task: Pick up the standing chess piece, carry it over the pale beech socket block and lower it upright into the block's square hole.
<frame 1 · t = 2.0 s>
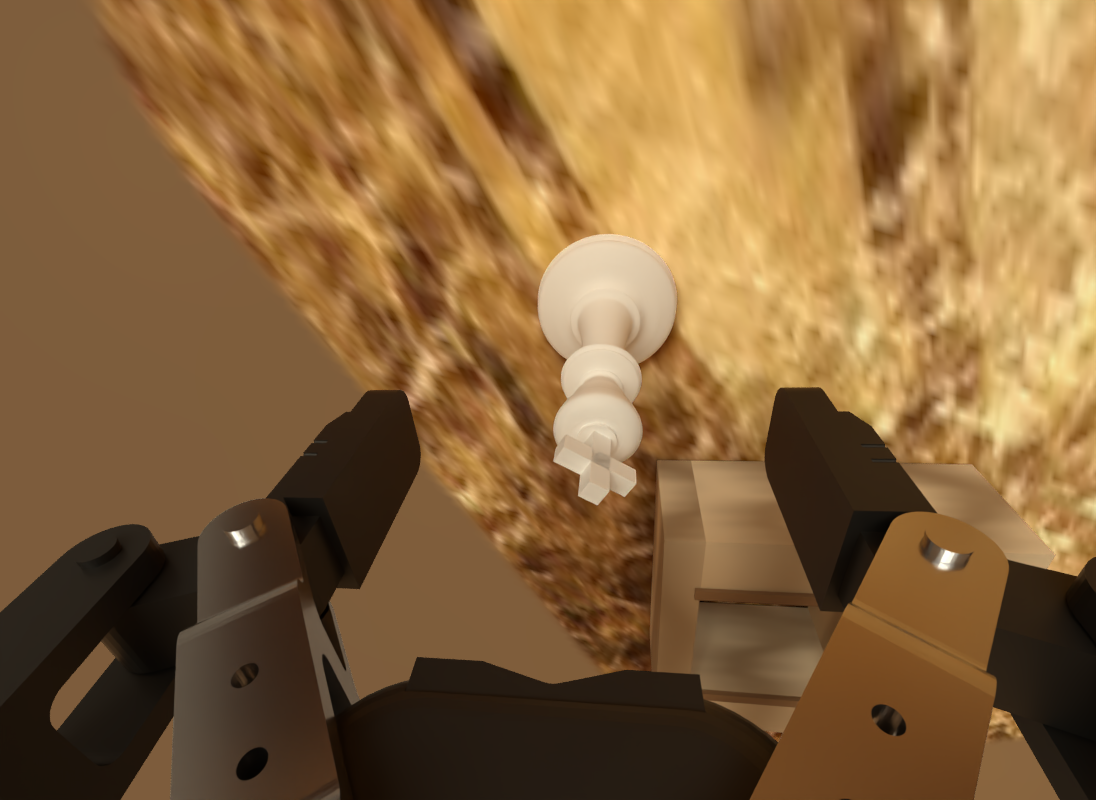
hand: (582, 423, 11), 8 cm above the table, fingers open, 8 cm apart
socket block: (783, 563, 24), on the table
chess piece: (606, 301, 18), on the table
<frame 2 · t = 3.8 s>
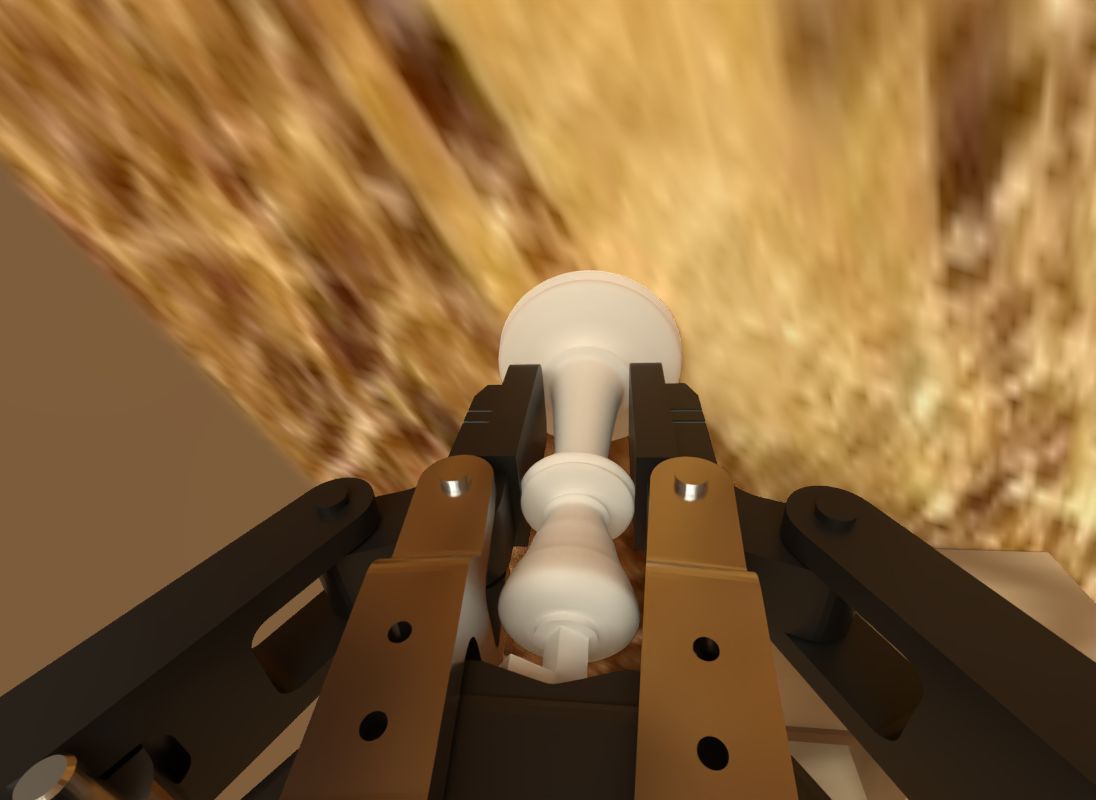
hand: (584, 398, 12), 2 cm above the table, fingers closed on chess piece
socket block: (805, 654, 20), on the table
chess piece: (589, 354, 14), on the table, touching gripper
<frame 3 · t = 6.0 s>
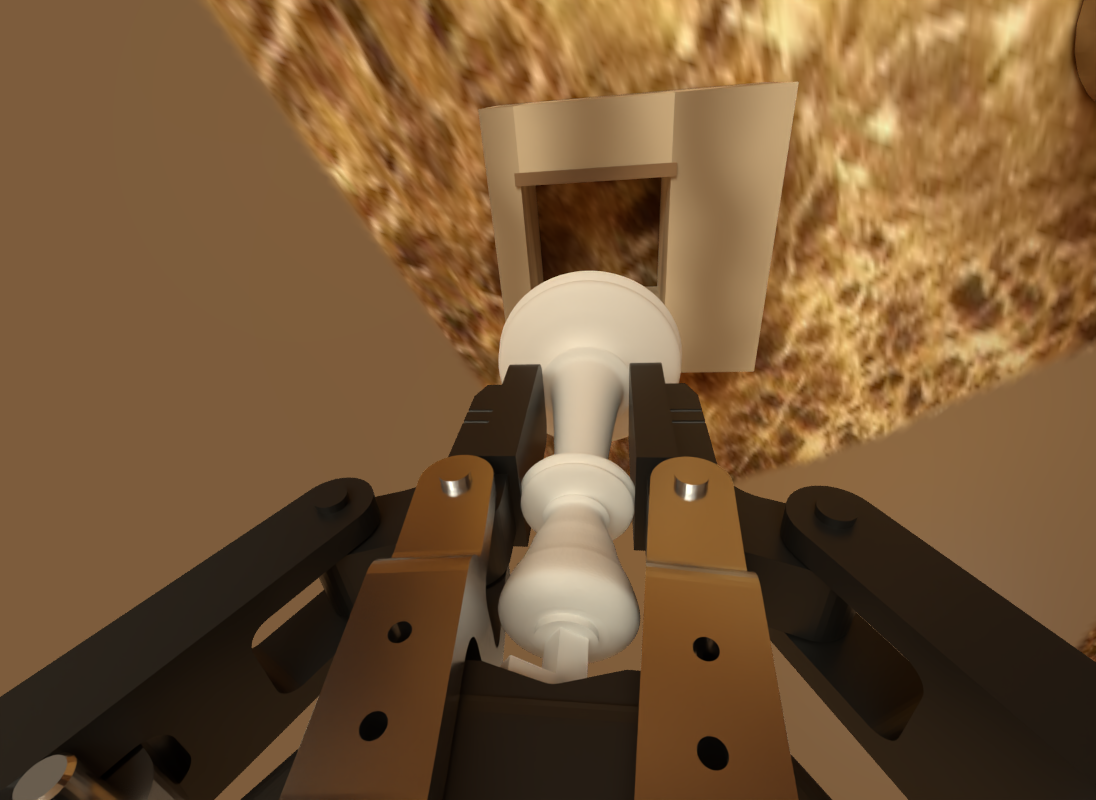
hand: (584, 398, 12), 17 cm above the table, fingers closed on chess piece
socket block: (627, 229, 26), on the table
chess piece: (589, 355, 14), point 15 cm above the table, touching gripper
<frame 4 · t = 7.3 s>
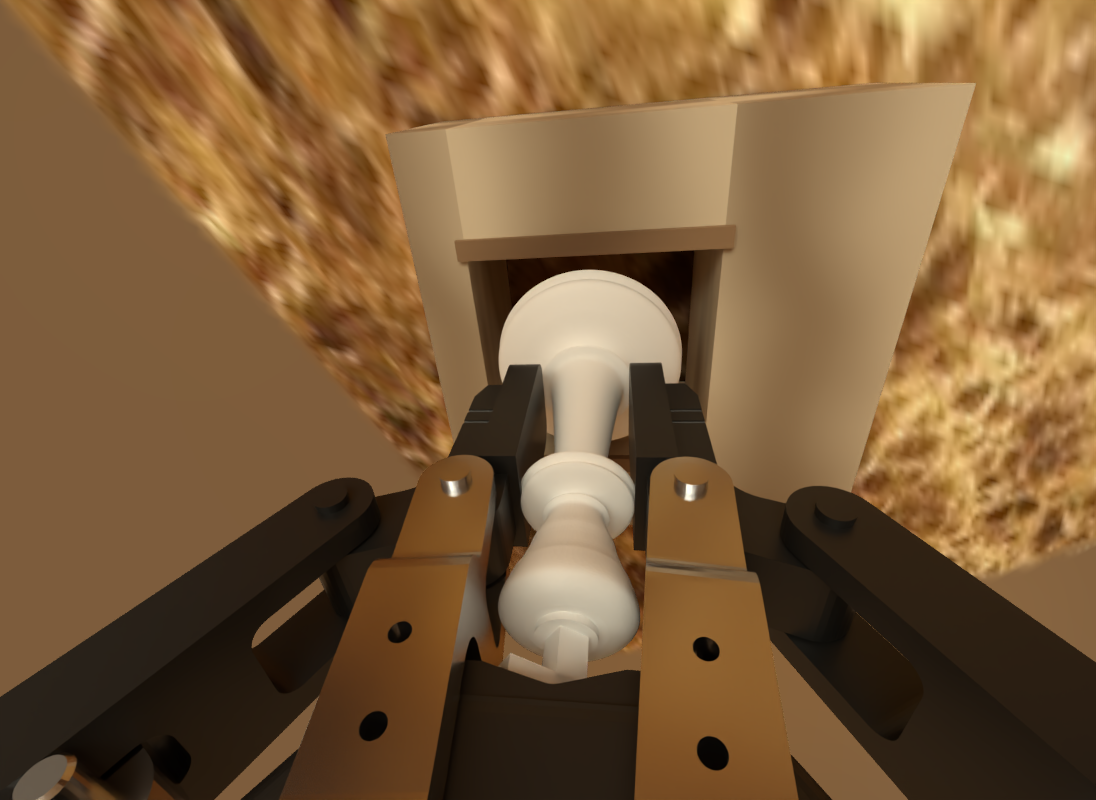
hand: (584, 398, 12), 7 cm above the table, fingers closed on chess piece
socket block: (642, 304, 17), on the table
chess piece: (589, 354, 14), point 4 cm above the table, touching gripper
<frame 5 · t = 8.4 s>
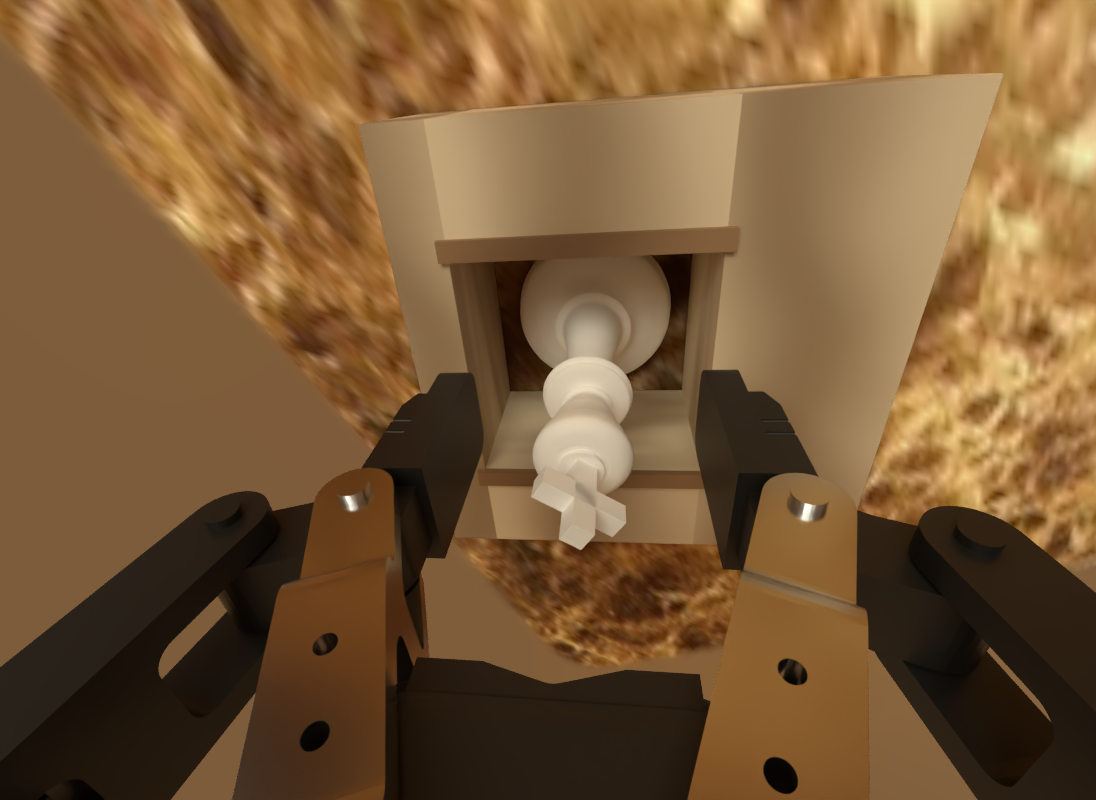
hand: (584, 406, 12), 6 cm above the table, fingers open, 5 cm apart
socket block: (637, 309, 17), on the table
chess piece: (594, 305, 17), resting in socket block
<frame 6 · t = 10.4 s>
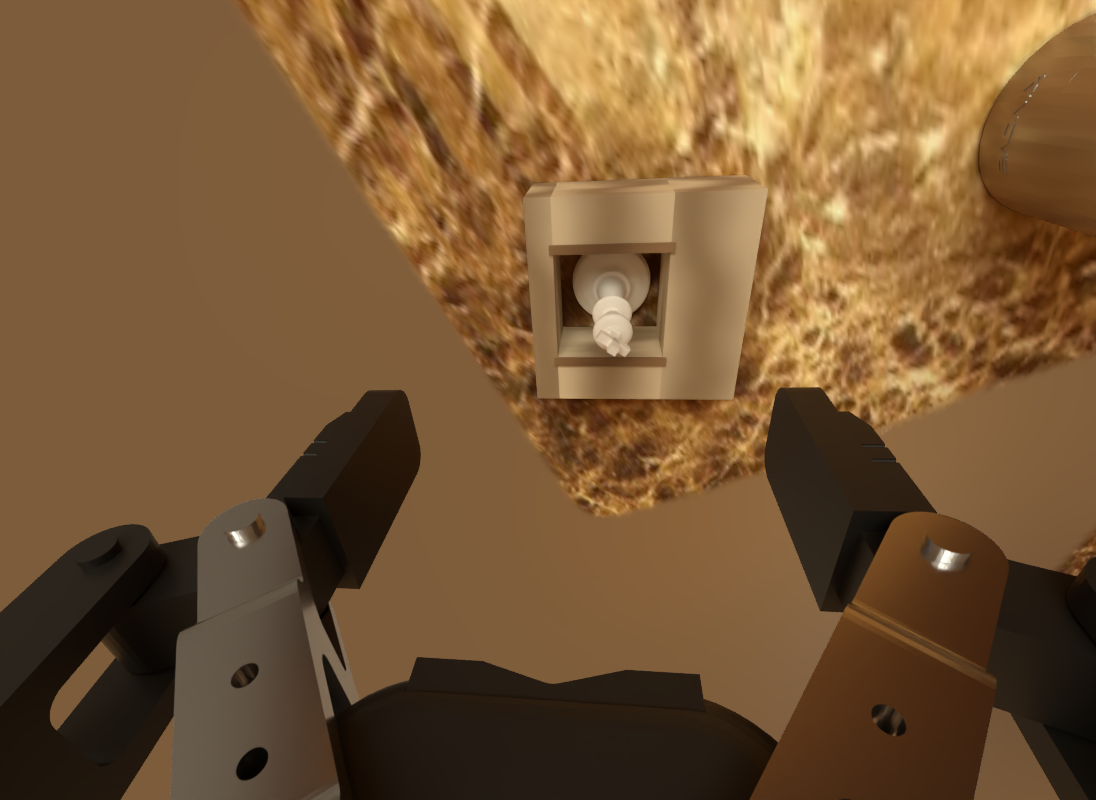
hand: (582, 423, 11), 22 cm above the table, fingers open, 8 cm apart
socket block: (633, 281, 32), on the table
chess piece: (611, 279, 32), resting in socket block
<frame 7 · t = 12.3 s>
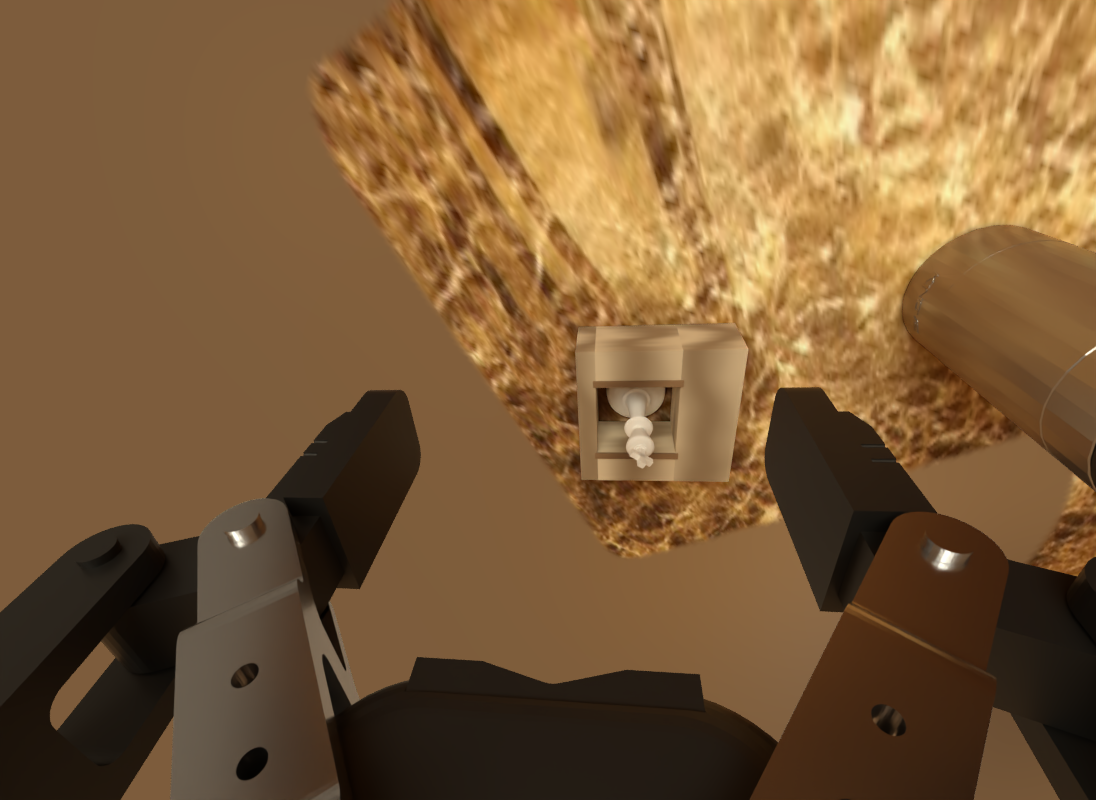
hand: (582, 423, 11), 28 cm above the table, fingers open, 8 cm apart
socket block: (652, 391, 43), on the table
chess piece: (635, 389, 43), resting in socket block
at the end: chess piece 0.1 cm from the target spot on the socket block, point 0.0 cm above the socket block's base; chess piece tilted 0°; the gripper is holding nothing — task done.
